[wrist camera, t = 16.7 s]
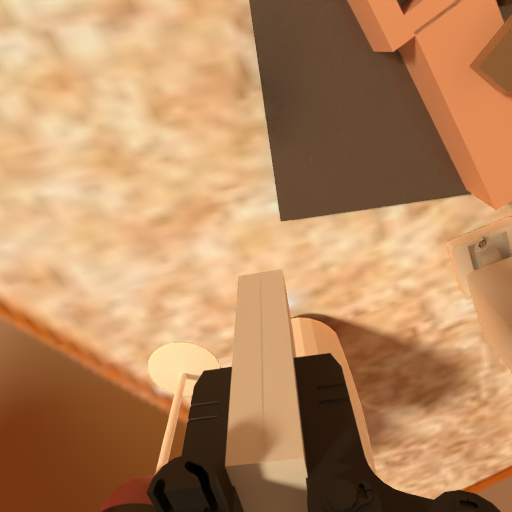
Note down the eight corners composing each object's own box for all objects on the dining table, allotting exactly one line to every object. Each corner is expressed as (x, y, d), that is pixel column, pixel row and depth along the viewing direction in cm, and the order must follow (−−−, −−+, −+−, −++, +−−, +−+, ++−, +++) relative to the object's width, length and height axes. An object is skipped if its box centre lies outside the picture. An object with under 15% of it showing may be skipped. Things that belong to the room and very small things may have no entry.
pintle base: (236, -87, 22) (227, -146, 15) (541, -153, 20) (675, -249, 14) (280, 215, 31) (285, 260, 24) (494, 183, 29) (562, 222, 23)
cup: (252, 308, 35) (249, 449, 23) (343, 304, 35) (390, 445, 23) (256, 374, 39) (256, 525, 27) (338, 371, 39) (375, 522, 27)
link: (318, -55, 22) (330, -75, 18) (427, -151, 20) (463, -194, 16) (450, 199, 29) (476, 220, 25) (538, 147, 27) (580, 162, 23)
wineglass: (211, 332, 37) (168, 592, 19) (231, 394, 41) (209, 655, 23) (133, 343, 37) (22, 603, 20) (160, 403, 42) (87, 663, 24)
